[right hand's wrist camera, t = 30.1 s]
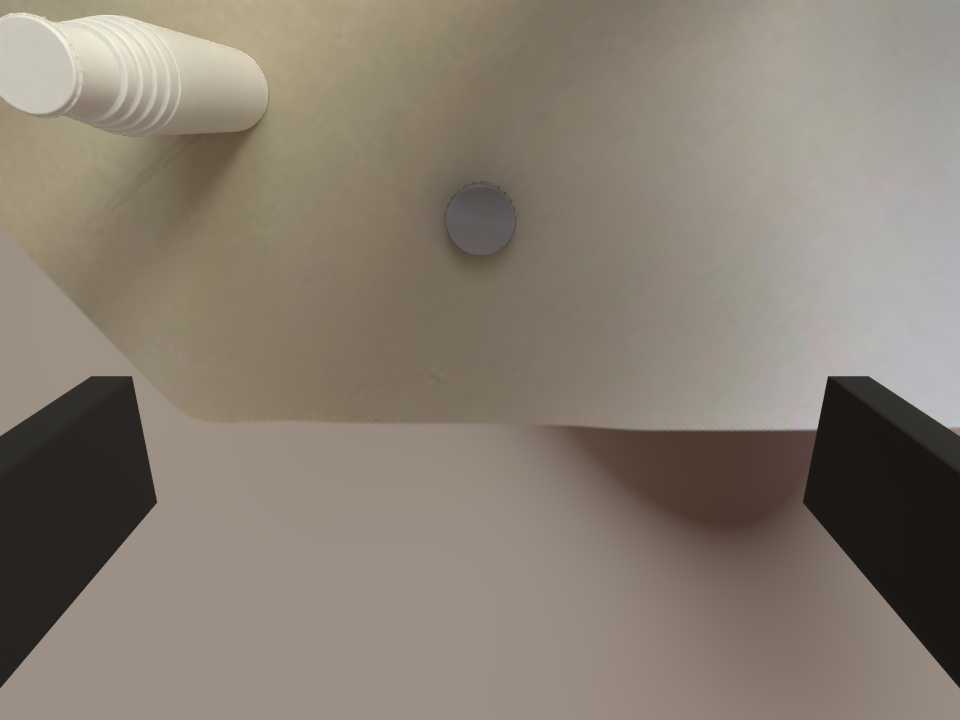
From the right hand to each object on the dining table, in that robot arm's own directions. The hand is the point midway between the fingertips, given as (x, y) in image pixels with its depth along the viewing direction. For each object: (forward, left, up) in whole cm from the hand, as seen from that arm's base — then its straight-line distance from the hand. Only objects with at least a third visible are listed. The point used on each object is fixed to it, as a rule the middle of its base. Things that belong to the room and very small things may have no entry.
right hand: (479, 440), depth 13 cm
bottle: (-8, -15, -31) cm, 36 cm away
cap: (0, 0, -30) cm, 30 cm away
